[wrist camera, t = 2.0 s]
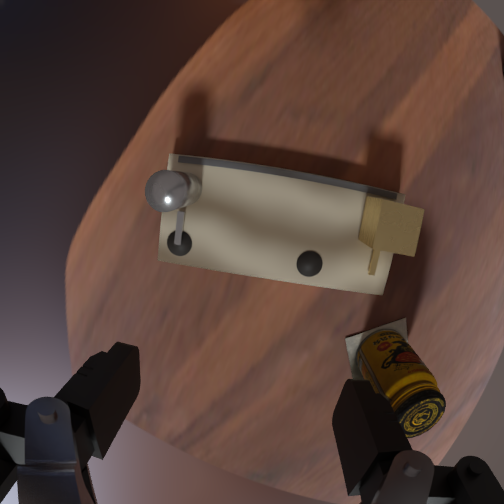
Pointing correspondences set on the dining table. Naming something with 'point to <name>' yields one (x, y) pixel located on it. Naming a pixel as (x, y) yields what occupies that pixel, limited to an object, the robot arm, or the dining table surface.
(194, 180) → the silver cylinder with leg
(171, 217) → the board
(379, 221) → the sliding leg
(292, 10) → the dining table surface
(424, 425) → the condiment
